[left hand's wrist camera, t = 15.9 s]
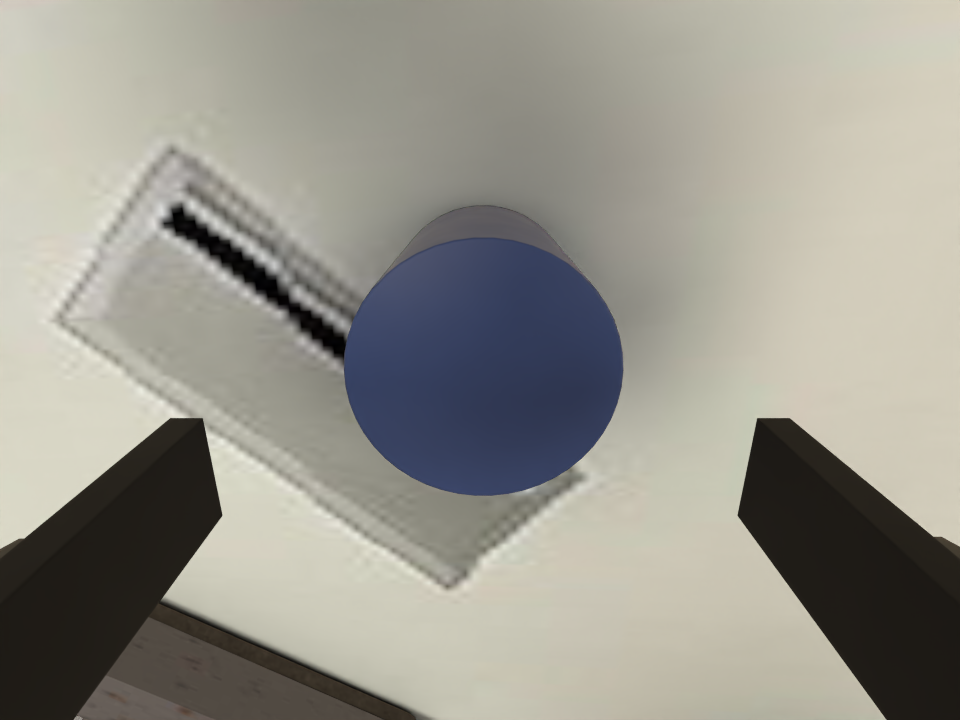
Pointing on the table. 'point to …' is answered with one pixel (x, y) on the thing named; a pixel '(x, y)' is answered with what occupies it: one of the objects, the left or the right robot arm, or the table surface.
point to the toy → (218, 680)
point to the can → (483, 356)
